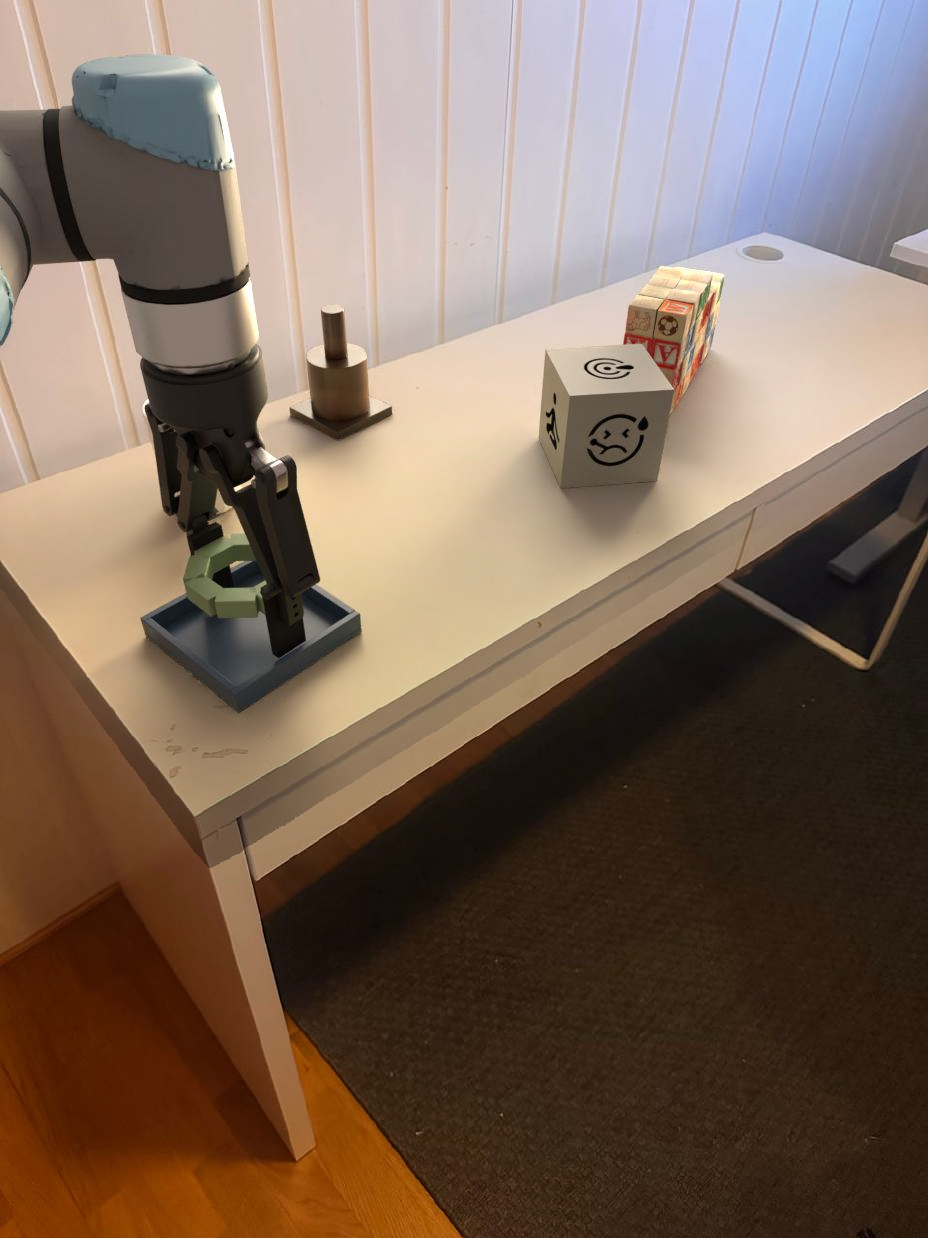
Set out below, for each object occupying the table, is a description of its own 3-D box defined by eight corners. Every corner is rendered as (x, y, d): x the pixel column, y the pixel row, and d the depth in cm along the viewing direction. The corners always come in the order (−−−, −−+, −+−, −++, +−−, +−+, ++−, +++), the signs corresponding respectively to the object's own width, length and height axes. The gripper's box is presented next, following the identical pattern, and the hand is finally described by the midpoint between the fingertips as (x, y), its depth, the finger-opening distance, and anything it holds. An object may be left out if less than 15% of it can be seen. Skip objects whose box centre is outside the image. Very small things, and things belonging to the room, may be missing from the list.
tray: (145, 636, 71) (139, 617, 70) (267, 568, 78) (263, 549, 77) (239, 713, 65) (234, 694, 64) (362, 632, 72) (360, 613, 71)
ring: (167, 583, 68) (162, 567, 67) (255, 536, 73) (252, 520, 72) (234, 634, 64) (230, 617, 63) (323, 580, 69) (321, 564, 67)
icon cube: (628, 431, 97) (641, 343, 91) (657, 480, 90) (674, 389, 83) (538, 437, 96) (545, 348, 89) (560, 488, 88) (569, 395, 82)
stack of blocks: (663, 338, 115) (680, 239, 107) (711, 347, 113) (732, 248, 105) (613, 410, 101) (628, 302, 93) (667, 422, 99) (687, 313, 91)
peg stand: (290, 415, 99) (276, 308, 91) (344, 390, 103) (335, 287, 95) (338, 440, 95) (328, 331, 87) (392, 414, 99) (388, 308, 91)
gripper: (359, 382, 53) (379, 659, 68) (156, 287, 63) (212, 545, 78) (257, 428, 48) (302, 713, 63) (57, 318, 59) (137, 585, 74)
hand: (252, 620), depth 71 cm, fingers closed on ring, 8 cm apart
